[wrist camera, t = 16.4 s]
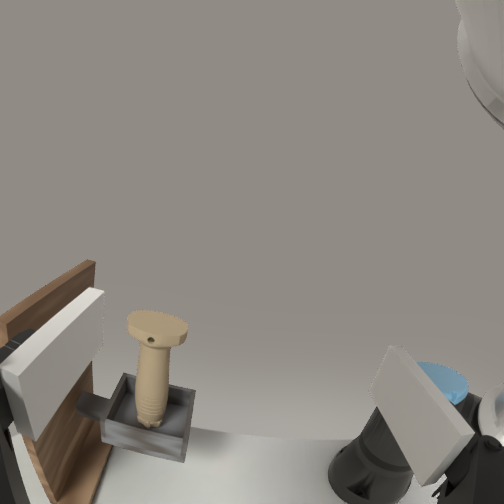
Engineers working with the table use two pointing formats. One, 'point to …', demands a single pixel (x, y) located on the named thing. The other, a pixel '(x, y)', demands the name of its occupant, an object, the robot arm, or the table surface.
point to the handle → (154, 361)
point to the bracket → (91, 408)
